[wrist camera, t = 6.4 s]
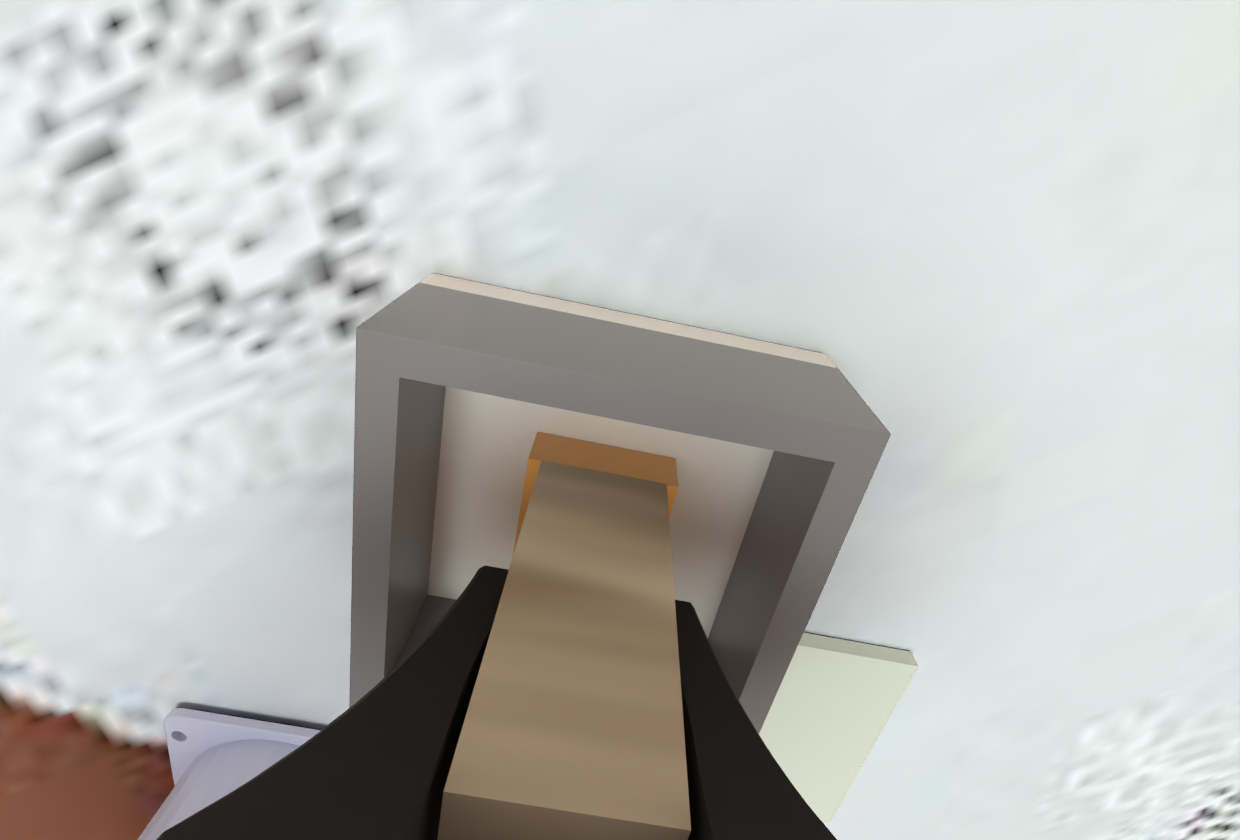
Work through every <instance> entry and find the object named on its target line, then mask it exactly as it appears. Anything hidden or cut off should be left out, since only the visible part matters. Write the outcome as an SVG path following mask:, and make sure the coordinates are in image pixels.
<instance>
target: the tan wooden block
mask: <svg viewBox="0 0 1240 840" xmlns="http://www.w3.org/2000/svg"><path fill="white" fill-rule="evenodd" d="M690 832H691V820H690V806H689V792H688V778H687V764H686V750H685V736H684V722H683V707H682V693H681V679H680V665H679V651H678V637H677V623H676V609H675V594H674V580H673V566H672V552H671V538H670V524H669V510H668V496H667V484H664V483H659V482H654V481H649V480H643V479H638V478H633V477H628V476H622V475H617V474H612V473H607V472H601V471H596V470H591V469H586V468H581V467H575V466H570V465H565V464H560V463H554V462H549V461H544V460H541V463H540V467H539V470H538V473H537V477H536V480H535V484H534V487H533V490H532V494H531V497H530V501H529V504H528V507H527V511H526V514H525V517H524V521H523V524H522V528H521V531H520V534H519V538H518V541H517V544H516V548H515V551H514V555H513V558H512V561H511V565H510V568H509V571H508V575H507V578H506V582H505V585H504V588H503V592H502V595H501V598H500V602H499V605H498V609H497V612H496V615H495V619H494V622H493V625H492V629H491V632H490V636H489V639H488V642H487V646H486V649H485V652H484V656H483V659H482V663H481V666H480V669H479V673H478V676H477V679H476V683H475V686H474V690H473V693H472V696H471V700H470V703H469V706H468V710H467V713H466V717H465V720H464V723H463V727H462V730H461V734H460V737H459V740H458V744H457V747H456V750H455V754H454V757H453V761H452V764H451V767H450V771H449V774H448V777H447V781H446V784H445V788H444V791H443V798H442V806H441V815H440V823H439V831H438V839H437V840H688V837H689V835H690Z"/></svg>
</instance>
